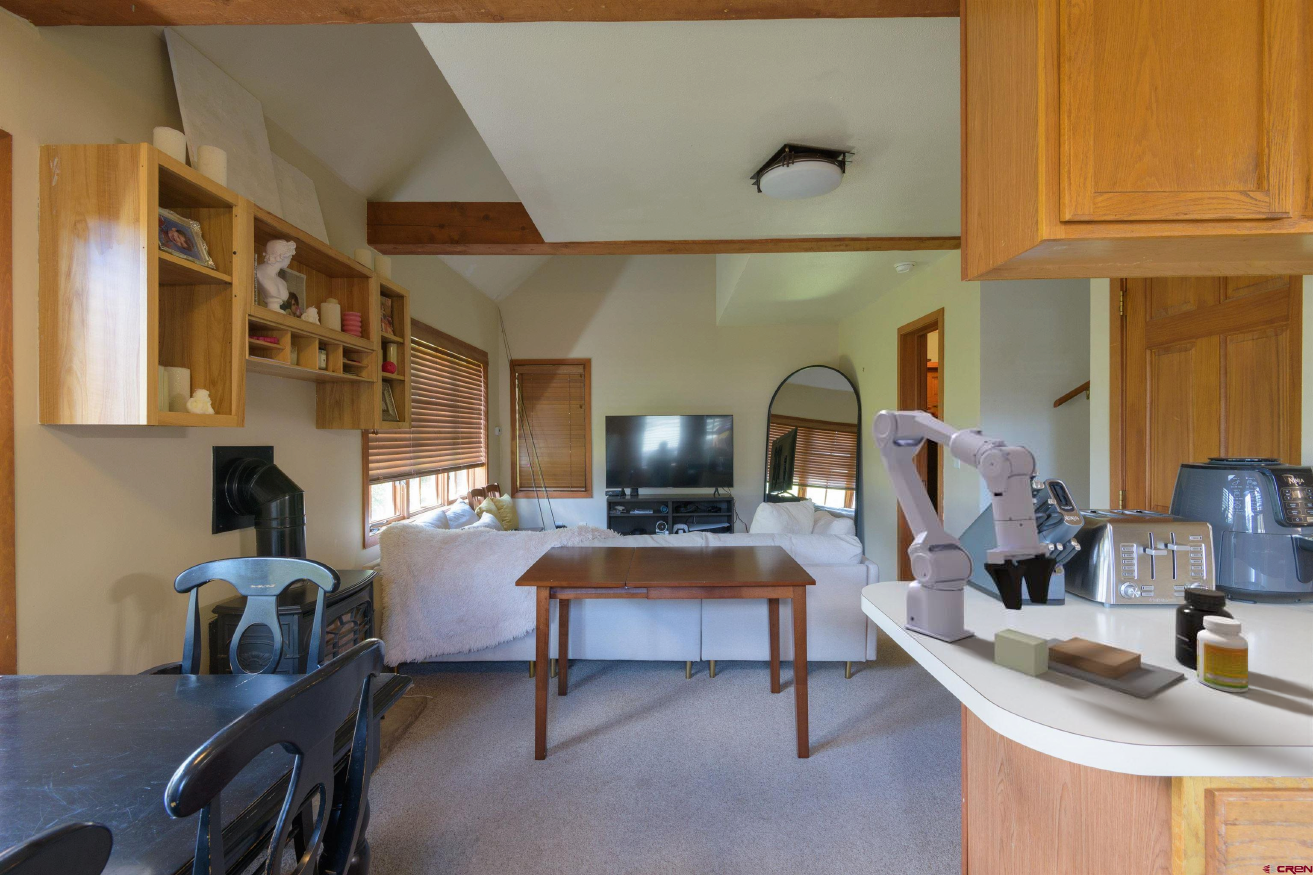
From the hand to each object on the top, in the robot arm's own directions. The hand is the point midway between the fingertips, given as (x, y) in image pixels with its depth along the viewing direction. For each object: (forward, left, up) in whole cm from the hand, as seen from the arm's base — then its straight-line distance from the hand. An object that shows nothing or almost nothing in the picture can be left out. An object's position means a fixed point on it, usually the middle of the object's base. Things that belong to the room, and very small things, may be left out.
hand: (1026, 606), depth 91 cm
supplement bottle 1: (+14, +25, -10) cm, 30 cm away
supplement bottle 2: (+18, +18, -10) cm, 27 cm away
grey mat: (+5, +10, -10) cm, 15 cm away
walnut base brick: (+5, +10, -10) cm, 15 cm away
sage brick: (-1, 0, -10) cm, 10 cm away
